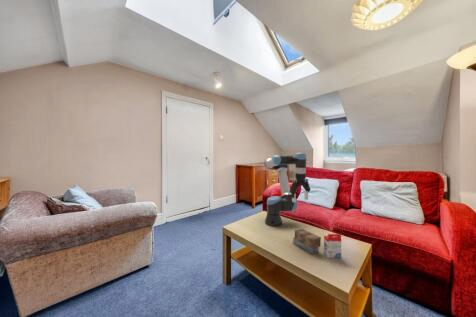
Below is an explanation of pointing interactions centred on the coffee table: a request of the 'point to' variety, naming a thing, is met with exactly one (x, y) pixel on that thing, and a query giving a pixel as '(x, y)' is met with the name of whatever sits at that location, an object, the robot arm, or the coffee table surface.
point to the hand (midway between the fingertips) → (300, 200)
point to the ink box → (332, 245)
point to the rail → (305, 247)
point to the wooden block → (308, 238)
